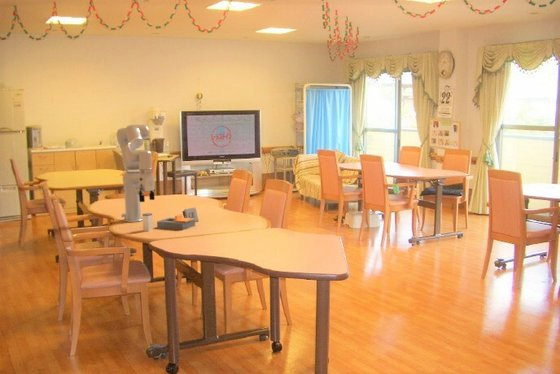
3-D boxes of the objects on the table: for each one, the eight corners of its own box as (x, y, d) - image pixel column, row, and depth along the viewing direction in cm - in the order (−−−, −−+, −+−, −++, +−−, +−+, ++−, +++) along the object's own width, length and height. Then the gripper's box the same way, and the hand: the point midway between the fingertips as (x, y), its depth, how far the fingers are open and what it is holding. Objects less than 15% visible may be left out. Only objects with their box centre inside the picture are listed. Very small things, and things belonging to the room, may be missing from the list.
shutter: (173, 221, 366) (173, 216, 366) (182, 218, 374) (181, 213, 374) (185, 222, 363) (184, 217, 363) (193, 219, 371) (193, 214, 371)
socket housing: (157, 227, 369) (157, 221, 368) (170, 223, 381) (170, 217, 381) (182, 230, 361) (182, 223, 361) (195, 225, 374) (194, 219, 374)
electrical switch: (188, 223, 381) (186, 209, 380) (182, 223, 384) (181, 209, 383) (199, 221, 388) (197, 207, 387) (193, 221, 391) (192, 207, 391)
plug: (143, 230, 361) (142, 214, 359) (147, 229, 364) (146, 212, 363) (148, 231, 359) (148, 214, 358) (152, 229, 363) (152, 213, 361)
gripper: (142, 173, 348) (143, 202, 350) (159, 170, 363) (160, 199, 365) (131, 173, 351) (132, 202, 353) (149, 170, 366) (150, 198, 368)
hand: (147, 200), depth 359 cm, fingers open, 9 cm apart
